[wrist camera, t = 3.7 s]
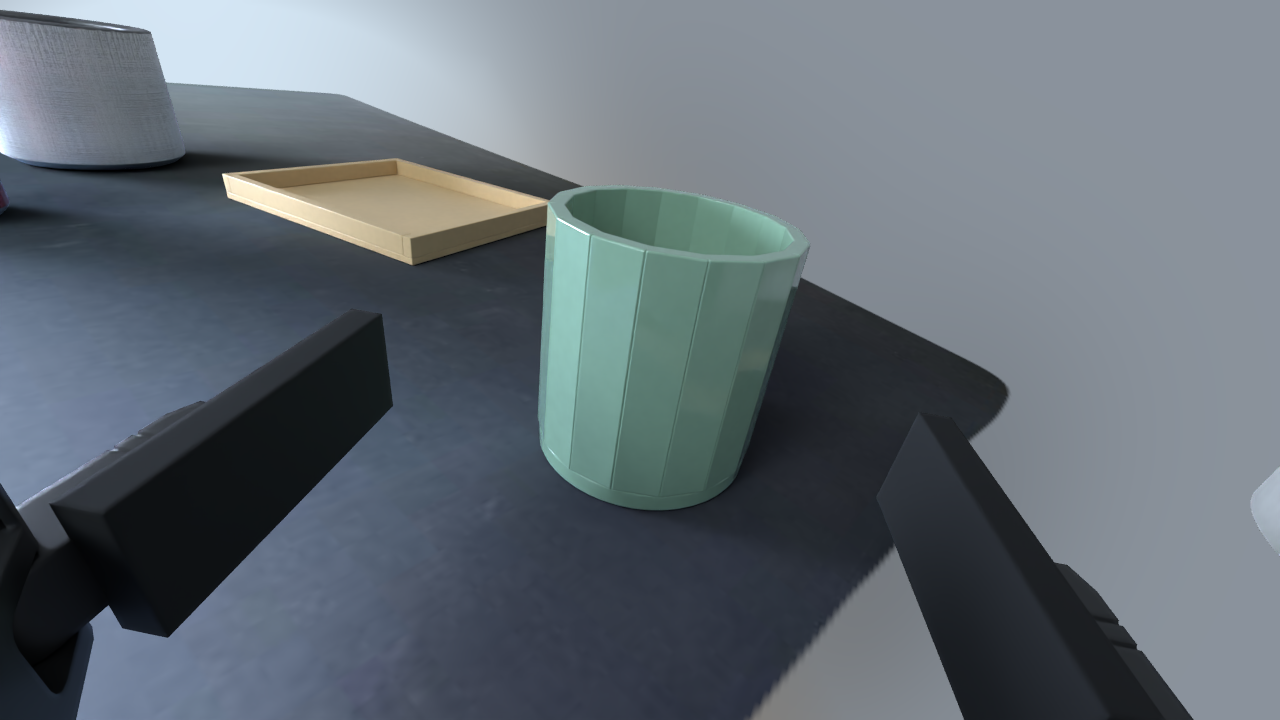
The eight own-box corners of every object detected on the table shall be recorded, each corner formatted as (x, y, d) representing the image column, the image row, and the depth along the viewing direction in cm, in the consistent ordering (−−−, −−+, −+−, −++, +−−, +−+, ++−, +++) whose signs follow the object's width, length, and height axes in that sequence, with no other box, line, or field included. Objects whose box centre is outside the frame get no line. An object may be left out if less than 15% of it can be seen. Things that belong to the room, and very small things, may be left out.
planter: (220, 158, 54) (188, 35, 49) (104, 180, 43) (47, 24, 38) (101, 140, 54) (56, 14, 49) (-45, 157, 43) (-124, -2, 38)
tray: (556, 222, 51) (557, 202, 50) (412, 265, 37) (410, 238, 36) (398, 176, 58) (396, 158, 57) (227, 197, 44) (221, 173, 43)
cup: (764, 423, 26) (828, 224, 21) (697, 550, 18) (771, 287, 13) (605, 361, 29) (628, 176, 24) (493, 449, 21) (492, 205, 16)
